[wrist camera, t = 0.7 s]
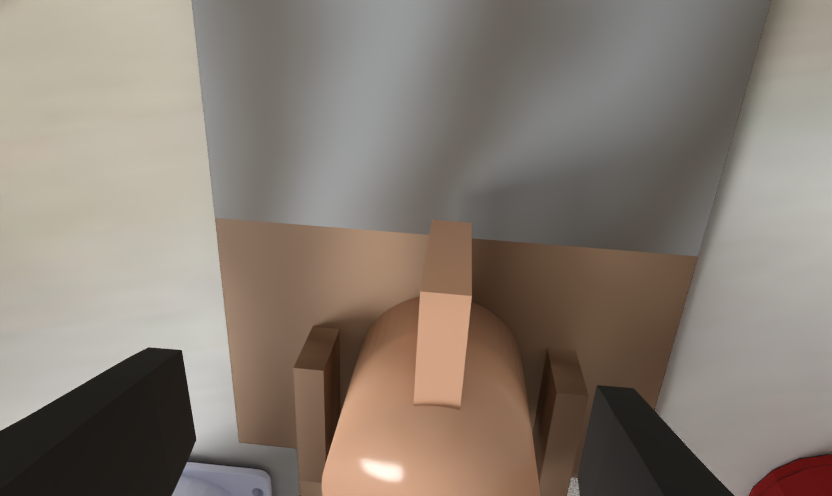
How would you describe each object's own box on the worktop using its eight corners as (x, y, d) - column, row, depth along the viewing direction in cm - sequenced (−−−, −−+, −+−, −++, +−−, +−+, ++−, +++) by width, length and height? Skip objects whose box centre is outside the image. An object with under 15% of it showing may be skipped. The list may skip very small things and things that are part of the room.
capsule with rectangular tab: (359, 421, 22) (323, 560, 17) (360, 199, 19) (315, 287, 13) (511, 436, 22) (525, 583, 17) (546, 213, 18) (578, 310, 13)
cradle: (246, 428, 24) (214, 490, 21) (190, -127, 16) (125, -154, 13) (628, 467, 23) (651, 538, 20) (785, -102, 15) (864, -124, 12)
